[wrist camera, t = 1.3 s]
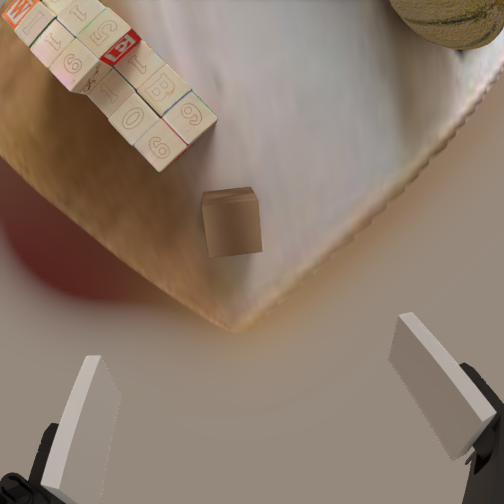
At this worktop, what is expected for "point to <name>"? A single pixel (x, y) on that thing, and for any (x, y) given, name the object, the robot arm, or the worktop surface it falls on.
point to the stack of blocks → (114, 74)
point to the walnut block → (231, 222)
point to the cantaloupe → (453, 21)
